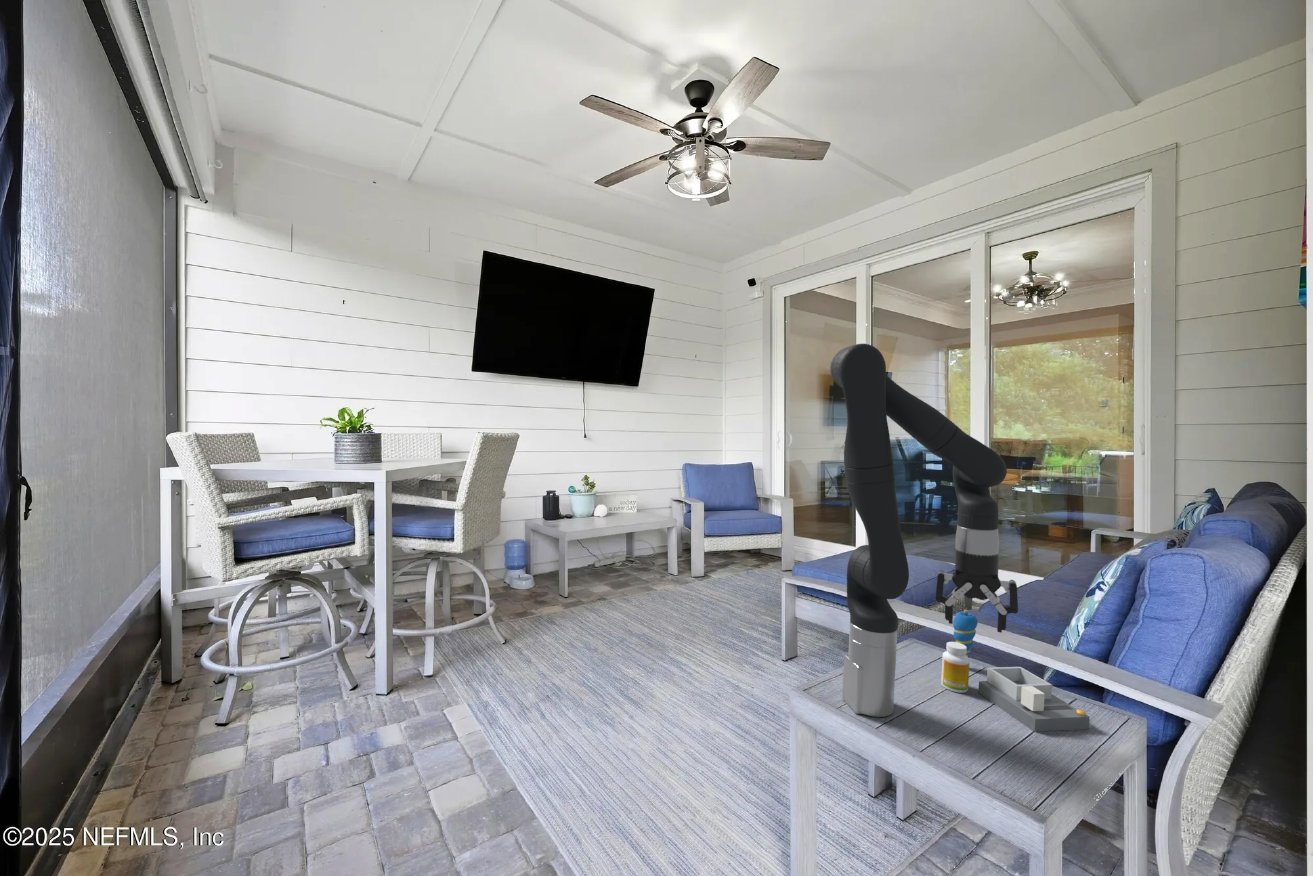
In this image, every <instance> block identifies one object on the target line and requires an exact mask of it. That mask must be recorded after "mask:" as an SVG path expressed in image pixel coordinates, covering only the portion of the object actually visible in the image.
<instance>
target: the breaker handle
mask: <svg viewBox="0 0 1313 876" xmlns="http://www.w3.org/2000/svg"><path fill="white" fill-rule="evenodd" d="M1044 697H1045V694H1044V693H1043V692H1041V691H1040V690H1038V689H1036V688H1035V687H1033V686H1022V690H1021V704H1023V705H1024V706H1026V707H1027V708H1029V709H1030V710H1032V711H1044Z"/></svg>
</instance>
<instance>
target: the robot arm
mask: <svg viewBox="0 0 1313 876" xmlns="http://www.w3.org/2000/svg"><path fill="white" fill-rule="evenodd" d="M830 376H831V378H832V380H833V381H834V382H835V384H836V385H837V386H839V387H840V388H841V389H842V391H843V395H844V403H845V408H846V417H847V418H846V419H847V421H846V424H847V425H846V430H845V439H844V448H843V449H844V450H843V464H844V465H843V466H844V475H845V476H844V477H845V482H846V488H847V492H848V494H849V495H848V496H849V497H850V500H851V502H852V504H853V506H854V508H855V510H856V512H857V514H858V516H859V517H860V520H861V522H862V524H863V526H864V531H865V533H866V537H867V544H864V545H860V546H858V547H857V548H856V549H854V550H853V551H852V553H851V554H850V556H849V559H848V562H847V567H846V604H847V609H848V612H849V635H848V652H847V653H848V654H845V655H844V657H843V674H842V675H843V677H842V691H841V693H842V694H841V695H842V696H841V698H842V700H843V701H844V702H845V704H847V706H848V707H850V708H851V710H852V712H854V713H855V714H859V715H860V714H862V715H865V716H868V717H873V718H874V717H876V718H881V717H883V718H885V717H888V716H891V715H892V714H893V712H894V706H895V705H894V704H895V687H896V686H895V685H896V664H897V663H896V662H897V650H898V649H897V647H898V646H897V644H898V631H899V630H898V629H899V628H898V627H899V617H898V614H897V612H896V611H895V610H894V609H893V607H892V606H891V605H890V602H889V601H888V600H895V599H898V598H900V597H901V596H902V595H903V594H904V592H905V591H906V589H907V587H908V584H909V579H910V569H909V564H908V563H909V562H908V557H907V554H906V549H905V545H904V541H903V534H902V530H901V523H900V516H899V509H898V502H897V492H896V478H895V468H894V459H893V453H892V444H891V437H890V429H889V425H888V424H889V423H888V418H889V419H890V420H892V422H894V423H896V425H898V426H899V427H900V428H901V429H903V431H905V432H906V433H907V434H908V435H909V436H911V438H913V440H915V441H916V442H918V443H919V444H921V446H923V447H924V448H925V449H927V451H929V452H930V453H931V454H932V455H935V456H936V457H937V458H940V459H942V460H945V461H946V462H948V463H949V464H951V466H952V480H953V484H954V491H955V495H956V499H957V506H958V507H957V523H956V524H957V525H956V526H957V527H956V532H955V548H954V549H955V551H954V553H955V555H954V572H953V573H948V572H945V571H944V570H939V571H938V572H937V579H936V589H935V601H937V603H939V602H940V603H943V605H944V607H945V609H944V618H945V620H946V621H948V624H950V625H953V621H954V604H955V603H956V602H957V601H959V600H960V599H961V598H962V597H963V596H964V597H965V598H966V599H976V600H977V599H978V600H979V601H985V600H988V601H989V602H991V604H992V605H993V606H994V607H995V609H996V610H997V617H996V618H997V619H996V621H997V624H996V630H997V633H1001V634H1002V633H1003V631H1005V630H1006V629H1007V616H1008V615H1009V614H1017V613H1019V603H1018V585H1017V582H1016V581H1015V580H1014V579H1010V580H1001V579H1000V578H999V561H1000V560H999V557H1000V555H999V554H1000V553H999V552H1000V538H999V537H1000V536H999V505H998V503H997V501H996V500H995V499H994V498H993V497H992V496H991V492H990V488H993V487H996V486H998V485H1001V483H1002V482H1004V480H1005V479H1006V476H1007V473H1008V472H1007V471H1008V470H1007V465H1006V463H1005V460H1004V459H1003V457H1002V456H1000V455H999V454H998V453H997V452H996V451H995V450H993V449H992V448H990V447H989V446H988V445H986V444H984V443H982V442H980V441H979V440H978V439H976V438H974V437H973V436H972V435H969V434H967V433H966V432H965V431H963V430H962V429H961V428H960V427H959V426H958V425H957V424H955V423H954V422H953V421H952V420H951V419H949V418H948V417H947V416H946V415H944V414H943V413H942V412H940V411H939V410H938V409H936V408H934V407H933V406H931V404H929V403H927V402H925V401H924V400H922V399H921V398H919V397H917V396H916V395H914V394H912V393H910V392H909V391H907V390H906V389H905V388H903V387H902V386H900V385H899V384H898V383H896V381H894V380H893V379H892V378H890V376H889V375H887V365H886V360H885V358H884V356H883V354H882V352H881V351H880V350H879V349H878V348H876V347H875V346H874V345H872V344H868V343H856V344H852V345H850V346H847V347H844V348H842V349H840V350H839V351H837V352H836V354H835V355H834V356H833V357H832V360H831V362H830ZM887 417H888V418H887ZM949 581H952V583H954V584H953V585H955V586H956V587H955V588H954V589H953V590H952V592H951V593H950V594H948V595H944V585H947V584H948V583H949ZM1000 588H1003V589H1004V591H1005V593H1007V594H1008V597H1009V604H1004V603H1003V601H1002V600H1001V599H1000V597H999V596H998V594H997V593H996V592H997V591H998V590H999V589H1000Z"/></svg>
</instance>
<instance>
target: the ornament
mask: <svg viewBox="0 0 1313 876" xmlns="http://www.w3.org/2000/svg"><path fill="white" fill-rule="evenodd" d="M977 626H978V618H977V617H976V616H975V615H974V614H972V613H970V612H969V610H968V609H967V607H965V609H963V611H958V612H957V613H956V615H955V617H953V624H952V627H953V630H954V631H953V637H954V640H955V642H957V643H961V644H963V645H965V646H966V647H967V652H966V654H965V655H966V656H968V658H969V659H970V656H971V653H972V652H971V649H972V647H973V645H974V638H975V636H976V633H977V630H976V628H977Z"/></svg>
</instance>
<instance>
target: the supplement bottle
mask: <svg viewBox="0 0 1313 876" xmlns="http://www.w3.org/2000/svg"><path fill="white" fill-rule="evenodd" d="M966 652H967V647H966V646H965V645H963V644H961V643H957V642H956V641H948V642H946V651H944V652H943V653H942V656H941V657H942V659H941V660H942V661H941V674H940V677H941V678H940V683H941V686H942V687H943V688H945V689H946V690H948V691H951V692H954V693H958V694H959V693H967V692H968V690H969V679H970V678H969V676H970V662H971V661H970V657H969V658H968V656H966V655H965V654H966Z"/></svg>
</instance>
